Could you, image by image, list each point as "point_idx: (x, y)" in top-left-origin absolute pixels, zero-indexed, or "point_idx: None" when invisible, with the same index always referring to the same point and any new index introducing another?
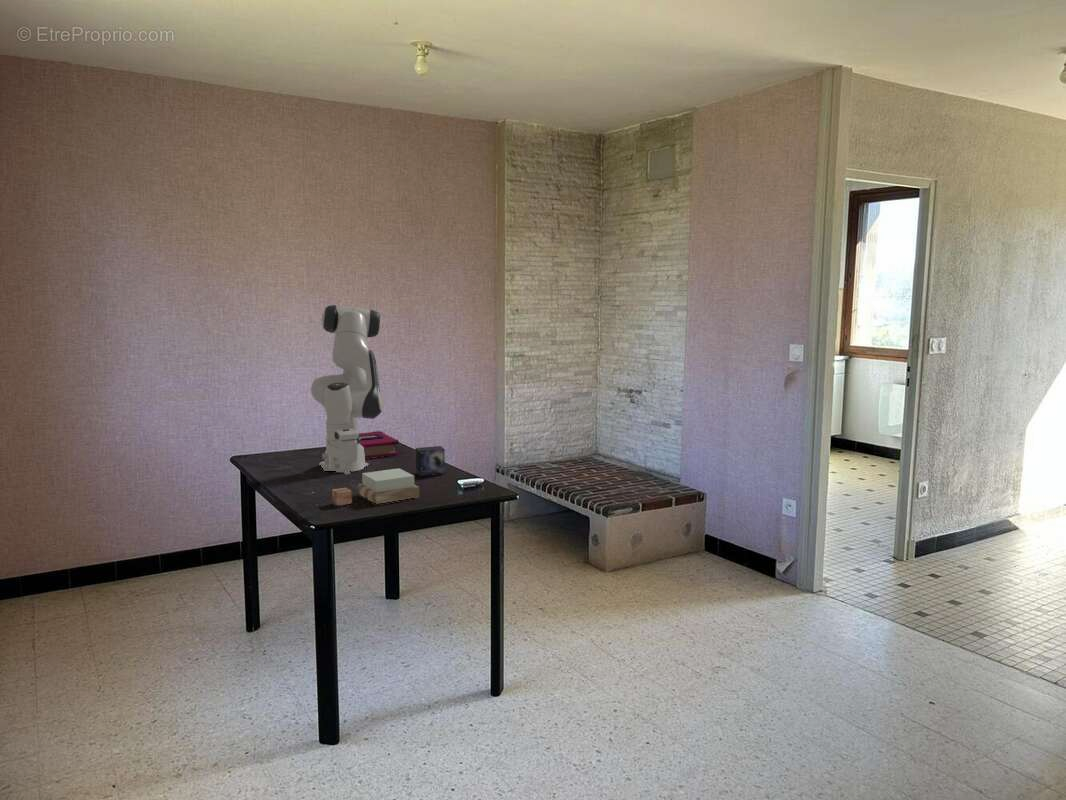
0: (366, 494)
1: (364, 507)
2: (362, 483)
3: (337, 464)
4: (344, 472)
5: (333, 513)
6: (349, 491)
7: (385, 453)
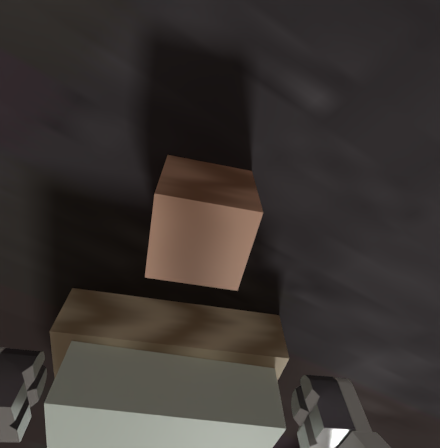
0: (189, 321)
1: (65, 238)
2: (275, 371)
3: (316, 441)
4: (5, 360)
5: (41, 52)
6: (147, 264)
7: None
